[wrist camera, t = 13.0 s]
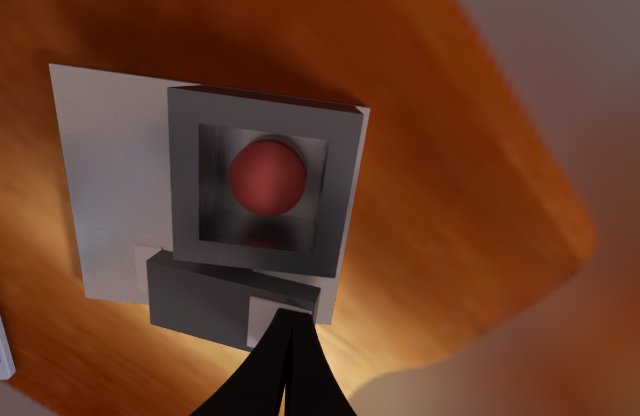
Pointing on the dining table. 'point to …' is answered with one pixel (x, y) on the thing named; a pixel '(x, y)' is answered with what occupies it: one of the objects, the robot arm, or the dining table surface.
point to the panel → (199, 179)
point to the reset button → (268, 176)
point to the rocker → (221, 300)
